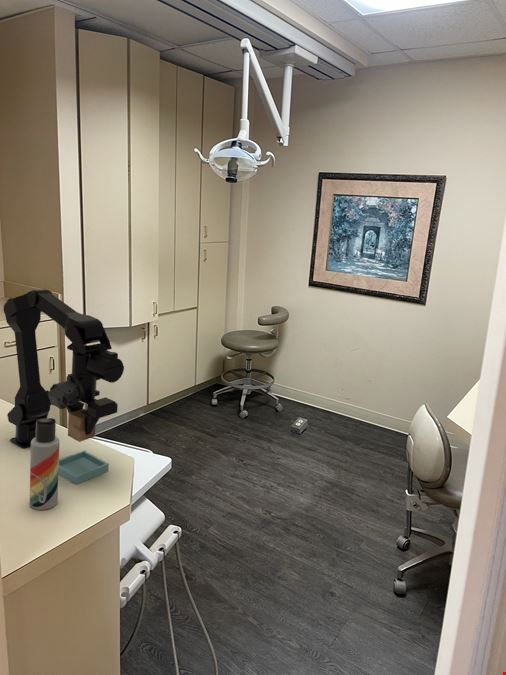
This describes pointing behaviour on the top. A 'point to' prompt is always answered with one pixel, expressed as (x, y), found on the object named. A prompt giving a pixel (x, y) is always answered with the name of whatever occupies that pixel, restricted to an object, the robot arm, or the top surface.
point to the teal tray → (81, 467)
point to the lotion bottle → (44, 465)
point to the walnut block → (78, 426)
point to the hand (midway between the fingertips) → (81, 431)
